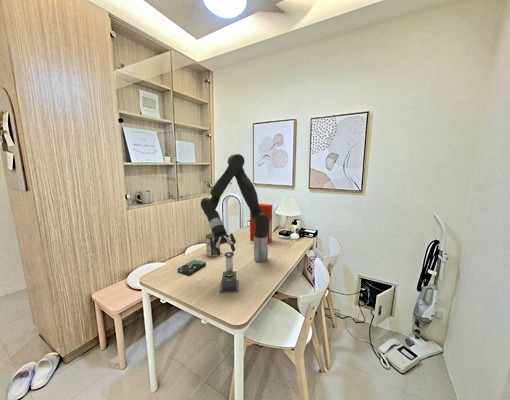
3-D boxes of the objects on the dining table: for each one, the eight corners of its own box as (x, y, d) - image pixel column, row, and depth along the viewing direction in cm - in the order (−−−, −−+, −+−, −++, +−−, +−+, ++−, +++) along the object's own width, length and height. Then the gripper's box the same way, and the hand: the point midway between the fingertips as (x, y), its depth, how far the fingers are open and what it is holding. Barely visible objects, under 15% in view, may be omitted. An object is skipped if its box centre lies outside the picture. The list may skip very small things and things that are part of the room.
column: (234, 274, 116) (234, 251, 114) (234, 279, 112) (233, 255, 109) (225, 274, 116) (224, 252, 114) (224, 279, 111) (224, 256, 109)
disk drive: (190, 277, 126) (206, 266, 139) (189, 272, 125) (206, 262, 138) (177, 272, 130) (194, 262, 143) (177, 268, 130) (194, 258, 143)
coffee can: (222, 251, 161) (222, 233, 159) (217, 257, 151) (216, 238, 149) (209, 250, 163) (209, 232, 161) (204, 255, 153) (203, 237, 151)
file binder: (268, 243, 177) (269, 206, 172) (250, 240, 184) (250, 204, 178) (271, 240, 185) (272, 204, 179) (253, 237, 191) (253, 202, 186)
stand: (238, 281, 120) (238, 269, 119) (238, 291, 110) (238, 279, 109) (221, 281, 119) (220, 270, 118) (219, 292, 110) (219, 280, 108)
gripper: (207, 226, 115) (216, 253, 107) (230, 222, 123) (240, 247, 115) (204, 233, 120) (212, 259, 113) (226, 228, 128) (236, 253, 121)
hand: (226, 253), depth 114 cm, fingers open, 8 cm apart
